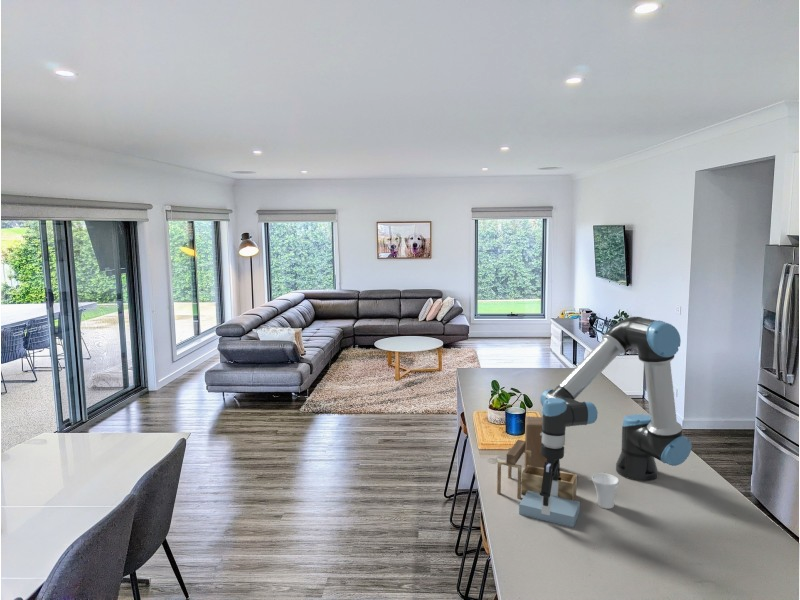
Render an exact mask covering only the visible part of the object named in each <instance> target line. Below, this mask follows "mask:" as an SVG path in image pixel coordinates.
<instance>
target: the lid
mask: <svg viewBox="0 0 800 600" xmlns="http://www.w3.org/2000/svg"><path fill="white" fill-rule="evenodd" d="M550 496H551V495H550ZM518 505H519V506H518V507H519V508H518V515H521V516H525V517H528V518H533V519H538V520H542V521H545V522H551V523H554V524H557V525H563V526H567V527H570V528H574V527H575V525H576V522H577V520H578V517H579V515H580V511H581V502H580V501H577V500H575V499H574V500H569V499H564V498H560V497H555V496H551V505H550V515H545V514H541V509H542V496H541V495H540V493H537V492H533V491H527V493H526V494H525V495H523V498H521V501H520V502H519V504H518Z"/></svg>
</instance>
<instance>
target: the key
mask: <svg viewBox="0 0 800 600" xmlns="http://www.w3.org/2000/svg"><path fill="white" fill-rule="evenodd" d="M525 450H526V441H525V440H522V439H517V440H516V442H515V443H514V444H513V445H512V448H511V449H510V451H509V450H508V452H507V453H506V462H507V464H512V465H515V464H517V462H519V460H520V458H521V456H522V455H523V454H525V453H524V451H525Z"/></svg>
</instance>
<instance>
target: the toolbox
mask: <svg viewBox="0 0 800 600" xmlns="http://www.w3.org/2000/svg"><path fill="white" fill-rule="evenodd" d="M512 447H513V446H512ZM512 447H510V446H509V447H508V452H509V451H510V449H511V448H512ZM525 453H528V465H527V466H526V468H525V467H524V469H523V471H522V465H521V464H518V463H516V464H515V465H512V464H507V461H501V460H498V461H497V475H496V477H497V480H496V483H497V484H496V492H497V494H498V495H500V494H501V491H502V490H501V489H502V466H508V468H507V469H508V470H507V473H508V474H507V476H508V477H507V478H508V479H512V469H513V468H517V493H516V494H517V497H516V498H517V499H522V495H523V496H525V494H526V493H527V491H533V492H537V493H541V489H542V481H543V473H544V468H541V467H536V466H531V451H528V450H525V451H524V453H523V454H525ZM512 467H513V468H512ZM560 477H561V481H559V480H557V481H559V484H558V497H560V498H564V499H569V500H574V501H575V499H576V496H577V481H578V480H577V474H576V473H570V472H567V471H562V470H560Z"/></svg>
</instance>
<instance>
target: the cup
mask: <svg viewBox="0 0 800 600" xmlns="http://www.w3.org/2000/svg"><path fill="white" fill-rule="evenodd" d="M591 481H592V482H593V484H594V487H595V491H596V504H597V506H598V507H600V508H602V509H607V510H608V509H613V508H614V507H615V495H616V494H615V493H616V490H617V487H618V485H619V483H620V480H619V478H618V477H617V476H616V475H612V474H610V473H606V472H600V473H599V472H598V473H594V474H593V475H592V476H591Z"/></svg>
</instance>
